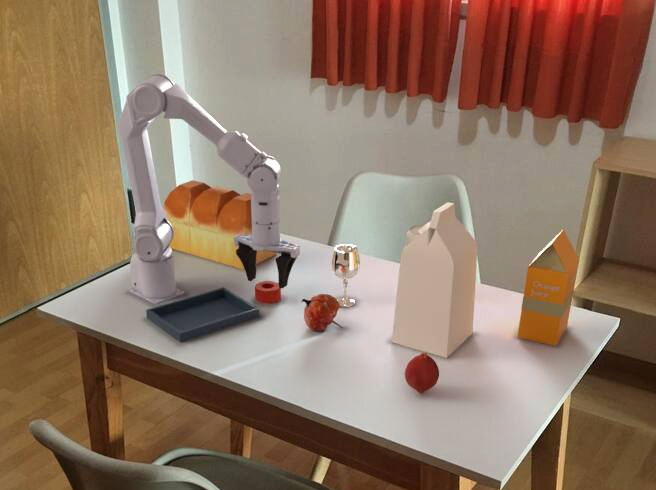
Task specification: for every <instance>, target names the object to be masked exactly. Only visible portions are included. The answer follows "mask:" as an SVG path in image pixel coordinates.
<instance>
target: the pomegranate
mask: <svg viewBox="0 0 656 490" xmlns="http://www.w3.org/2000/svg"><path fill="white" fill-rule="evenodd" d="M337 299H338V298H336V297H335V296H333V295H331V294H327V293H319V294H317V295H313V296H312V297H311V298H310V299H306V298H302V300H301V301H300V303H303V302H304V303H305V307H304V310H303V320H304V322H305V324H306V326H308V328H309V329H311V330H312V331H314V332H319V333H320V332H325V331H326V330H327V328H328V326H329V325H331V324H335V326H337V327H339V328H341V329H343V328H344V327H343V326H341V325H340V324H339V323H337V322H336V321H334V319H335V318H336V317H337V314H338V311H339V309H340V308H341V306H340V304H339V302H338V301H337Z"/></svg>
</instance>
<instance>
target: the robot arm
mask: <svg viewBox="0 0 656 490" xmlns="http://www.w3.org/2000/svg"><path fill="white" fill-rule="evenodd" d="M163 112H164V115H163V119H167V120H168V119H169V120H181V121H184V122H185V123H186V124H188V125H189V126H190V127H192V128H193V129H194V130H195V131H197V132H198V133H200V135H202V136H203V137H204V138H206V139H207V140H208V141H210V142H211V144H214V145H215V147H216V152H217V156H218V157H219V158H220V159H222V160H223V161H224V162H225V163H226V164H228V165H229V166H230V167H231V168H232V169H234V170H235V171H236V172H237V173H238V174H240V175H241V176H242V177H243V178H246V182H247V186H248V187H249V188H250V192H251V193H250V194H252V197H251V216H252V235H243V234H238V235H236V236H234V245H235V246H239V247H238V249H237V250H236V254H237V256H238V257H239V259H240V260H241V262H242V264H243V266H244V269H245V270H244V269H243V270H244V272H245V275H246V278H247V281H248V282H252V281H254V280H255V279H256V277H257V264H256V256H257V251H262V250H266V251H271V252H275V253H276V254H280V255H279V256H277V257H275V258H274V260H275V264H276V268H277V274H278V275H277V276H278V283H279V288H281V289H284V288H286V287H287V286H288V282H289V277H290V274H291V271H292V268H293V266H294V264H295V261H296V260H297V258H298V256H300V253H301V247H300V245H297V244H294V243H291V242H289V241H287V240H284V239H282V238H281V199H280V198H281V197H280V189H279V187H280V185H279V184H278V183H279V181H280V179H281V175H282V169H281V166H280V164H279V161H277V160H276V158H275V157H274V156H271V155H267V153H266V152H264V151H262V152H261V150H259V149H258V148H256V147H255V146H254V145H253V144H252V143H251V142H250V141H249V140H248V135H247V134H245V133H244V132H242V133H241V134H240V133H239V132H238V131H235V130H234V131H227V129H225V128H224V127H223V126H222V125H221V124H219V122H218V121H217V120H215V119H214V117H212V116H211V115H210V114H209V113H208V112H207V111H206V110H205V109H204V108H203V107H201V106H200V104H198V103H197V102H196V101H195V100H194V99H193V98H192V97H191V95H189V94H188V93H187V92H186V90H184V88H183V87H182V86H181V85H179V84H177V83H174V82H173V80H172V79H171V78H170V77H168V76H167V75H165V74H164V73H163V74H162V73H155V74H151V75H150V76H149V77H148V78H147V79H146V80H144V81H143V82H140V83H138V84H137V85H135V87H133V88H132V89H131V91H130V92H129V93H128V94H127V95H126V100H125V103H124V106H123V109H122V112H121V114H120V117H119V120H118V129H119V134H120V139H121V144H122V149H123V154H124V158H125V165H126V169H127V174H128V179H129V184H130V189H131V194H132V199H133V204H134V209H135V210H134V211H135V217H134V224H133V230H134V237H133V241H132V248H133V250H134V253H133V254H132V255H131V258H130V262H129V267H130V276H131V283H132V288H131V289H129V293H132V294H133V295H136V296H138V297H140V298H142V299H144V300H146V301H148V302H150V303H152V304H155V305H158V304H160V303H162V302H165V301H168V300H172V299H174V298H176V297H180V296H181V295H185V293H186V292H185V291H184V290H182V289H180V288H178V287H177V285H176V272H175V261H174V252H173V249H172V248H171V247H170V244H169V243H170V242H171V241H172V240H173V237H174V230H173V227H172V225H171V224H170V222H169V221H168V219H167V215H166V212H165V210H164V207H162V203H161V198H160V197H161V196H160V192H159V186H158V182H157V175H156V171H155V165H154V160H153V154H152V149H151V142H150V137H149V133H148V128H149V127H150V125H151V124H152V123H153V121H154V120H155V119H156V118H157V117H158V116H160V115H161V114H162V113H163Z"/></svg>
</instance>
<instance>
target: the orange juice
mask: <svg viewBox="0 0 656 490" xmlns="http://www.w3.org/2000/svg"><path fill="white" fill-rule="evenodd" d="M579 263H580V259H579V257H578V255H577V252H576V251H575V249H574V247H573V245H572V243H571V240H570V238H569V236H568V234H567V233H566V231H565V229H564V228H563V229H562V230H561V231H560V232H559V233H558V234H557V235H556V236H555V237H553V239H551V241H550V242H548V244H547V245H546V246H545V247H544V248H543V249H542V250H541V251H539V252H538V253H537V255H536V256H535V257H534V258H533V260H532V261H531V262H530V264H529V265H528V266H527V271H526V278H525V284H524V290H523V297H522V303H521V307H520V308H521V311H520V318H519V322H518V323H519V324H518V330H517V338H519V339H522V340H523V339H524V340H528V341H532V342H538V343H541V344H546V345H550V346H553V347H554V346H555V347H557V344H558V343H559V341H560V340H561V338H562V336H563V335H564V333H565V331H566V330H567V328H568V323H569V318H570V312H571V306H572V301H573V297H574V292H575V285H576V279H577V274H578V268H579Z"/></svg>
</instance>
